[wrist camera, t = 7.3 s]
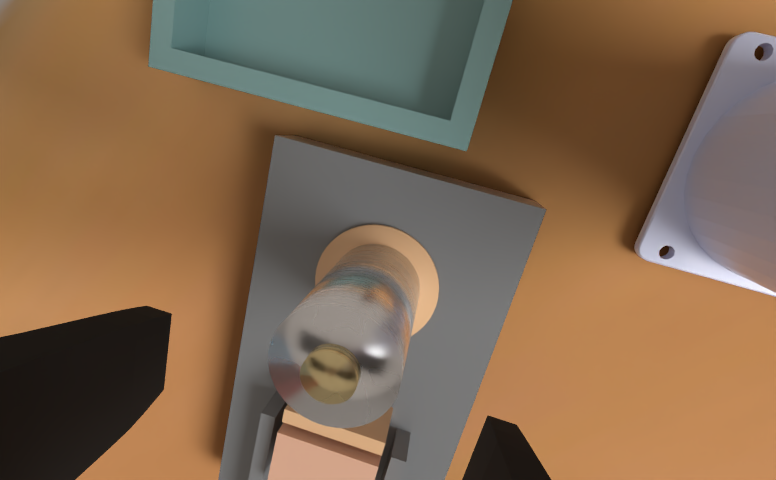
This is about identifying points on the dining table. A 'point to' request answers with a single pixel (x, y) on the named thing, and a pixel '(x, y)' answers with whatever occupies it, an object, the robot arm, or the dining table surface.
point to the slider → (318, 458)
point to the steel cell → (348, 339)
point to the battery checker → (434, 310)
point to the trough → (343, 56)
